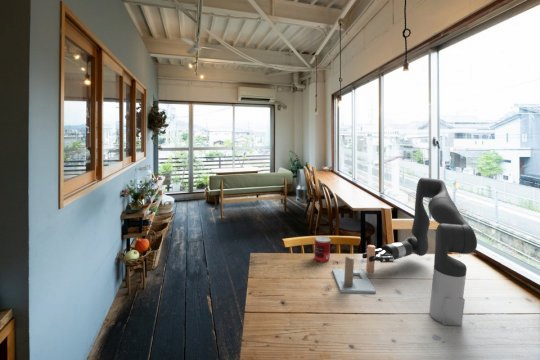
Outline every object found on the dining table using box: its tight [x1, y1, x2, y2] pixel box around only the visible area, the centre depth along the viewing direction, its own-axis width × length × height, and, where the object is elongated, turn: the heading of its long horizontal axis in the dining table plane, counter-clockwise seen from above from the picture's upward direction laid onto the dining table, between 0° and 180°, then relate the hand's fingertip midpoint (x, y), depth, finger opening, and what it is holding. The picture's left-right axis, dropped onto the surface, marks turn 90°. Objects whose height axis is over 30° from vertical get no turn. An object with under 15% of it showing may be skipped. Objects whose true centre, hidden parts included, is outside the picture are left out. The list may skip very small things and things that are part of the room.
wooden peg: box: [365, 244, 376, 274], centre depth 126 cm, size 3×3×12 cm
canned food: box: [314, 235, 331, 263], centre depth 141 cm, size 8×8×11 cm
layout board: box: [332, 255, 377, 294], centre depth 119 cm, size 18×14×13 cm
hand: (366, 257), depth 125 cm, fingers closed on wooden peg, 3 cm apart
